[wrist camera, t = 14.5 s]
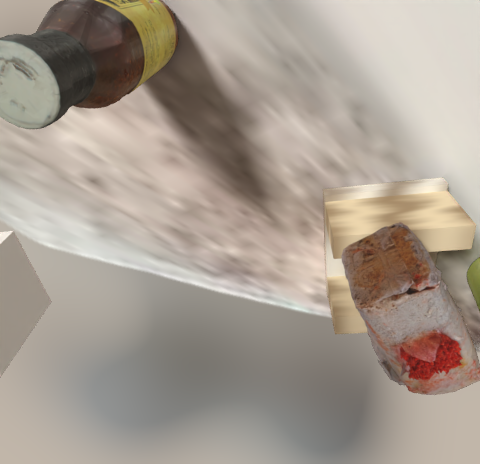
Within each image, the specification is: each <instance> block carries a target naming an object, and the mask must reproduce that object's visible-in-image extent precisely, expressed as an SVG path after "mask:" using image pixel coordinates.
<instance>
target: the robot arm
mask: <svg viewBox="0 0 480 464" xmlns="http://www.w3.org/2000/svg"><path fill="white" fill-rule="evenodd" d="M50 304H51V300H50V298H49V296H48V294H47V293H46V291H45V289H44V287H43V285H42V283H41V281H40V279H39V278H38V276H37V274H36V272H35V270H34V268H33V266H32V264H31V263H30V261H29V259H28V257H27V255H26V253H25V252H24V249H23V248H22V246H21V244H20V242H19V240H18V238H17V236H16V235H15V233H14V231H9V232H0V377H1V376H2V374H3V373H4V371H5V370H6V368H7V367H8V366H9V364H10V362H11V361H12V360H13V358H14V357H15V355H16V354H17V352H18V351H19V349H20V348H21V346H22V345H23V343H24V342H25V340H26V339H27V337H28V336H29V335H30V333H31V331H32V330H33V329H34V327H35V326H36V324H37V323H38V321H39V320H40V318H41V317H42V315H43V314H44V312H45V311H46V309H47V308H48V306H49V305H50Z"/></svg>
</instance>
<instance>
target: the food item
mask: <svg viewBox="0 0 480 464" xmlns="http://www.w3.org/2000/svg"><path fill="white" fill-rule="evenodd" d="M341 258H342V263H343V265H344V269H345V276H346V278H347V280H348V283H349V287H350V291H351V296H352V299H353V301H354V303H355V307H356V309H358V311H359V313H360V315H361V317H362V318H363V320H364V321H365V325H366V327H367V331H368V335H369V336H370V337H371V342H372V346H373V348H374V351H375V352H376V354H377V356H378V358H379V359H380V361H381V362H380V361H378V362H379V364H380V365H381V366H382V368H383V369H384V371H385V373H386V374H387V375H388V377H389V378H390V379H391V380H393V381H395V382H398V384H399V385H406V386H407V388H408V390H409V391H411V392H413V393H420V394H426V395H436V394H444V393H449V392H455V391H457V390H459V389H461V388H464V387H467V386H469V385H471V384H473V383H475V382H477V381H480V364H479V360H478V356H477V353H476V349H475V347H474V344H473V342H472V339H471V337H470V335H469V332H468V330H467V328H466V325H465V323H464V321H463V318H462V317H463V316H461V314H460V312H459V311H461V309H460V308H458V307H457V306H456V304H455V302H454V300H453V298H452V296H451V295H450V293H449V292H448V287H447V286H446V284H445V283H444V282H443V281H442V279H441V274H442V273H441V272H440V271H439V270H438V269H437V268H436V266H435V264H434V262H433V260H432V258H431V257H430V255H429V253H428V252H427V250H426V248H425V247H424V245H423V244H422V242H421V241H420V240H419V239H418V237H417V236H416V235H415V234H414V233H413V232H412V231H411V230H410V229H409V228H408V226H407V225H405V224H403V223H402V222H399V223H396V224H393V225H391V226H389V227H388V226H385V227H383V228H381V229H379V230H378V231H376V232H375V233H373V234H371V235H369V236H367V237H365V238H363V239H361V240H359V241H357V242H354V243H352V244H350V245H348V246H347V247H346V248H344V249H343V252H342V255H341Z"/></svg>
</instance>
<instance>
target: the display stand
mask: <svg viewBox="0 0 480 464" xmlns="http://www.w3.org/2000/svg"><path fill="white" fill-rule="evenodd" d="M447 189H448V183H447V182H446V181H445V180H444V178H433V179H422V180H412V181H402V182H391V183H381V184H371V185H360V186H350V187H340V188H329V189H323V207H324V239H325V271H326V292H327V297H328V299H329V304H330V310H331V315H332V320H333V326H334V331H335V334H348V333H368V331H367V327H366V325H365V321H364V320H363V318H362V317H361V315H360V313H359V311H358V309H356V307H355V303H354V301H353V299H352V296H351V291H350V287H349V283H348V280H347V278H346V276H345V269H344V265H343V263H342V258H341V255H342V252H343V249H344V248H346V247H347V246H348V245H350V244H352V243H354V242H357V241H359V240H361V239H363V238H365V237H367V236H369V235H371V234H373V233H375V232H376V231H378V230H379V229H381V228H383V227H385V226H388V227H389V226H391V225H393V224H396V223H399V222H402V223H403V224H405V225H407V226H408V228H409V229H410V230H411V231H412V232H413V233H414V234H415V235H416V236H417V237H418V239H419V240H420V241H421V242H422V244H423V245H424V247H425V248H426V250H427V252H428V253H429V255H430V257H431V258H432V260H433V262H434V264H435V266H436V259H437V253H438V251H450V250H463V249H471V248H472V243H473V238H474V234H475V229H476V224H475V223H474V222H473V221H472V219H471V218H470V217H469V216H468V215H467V213H466V212H465V211H464V210H463V209H462V208H461V206H460V205H459V204H458V203H457V202H456V200H455V199H454V198H453V197H452V196H451V195H450V193H449V192H448V191H447Z"/></svg>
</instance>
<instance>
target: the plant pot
mask: <svg viewBox="0 0 480 464" xmlns="http://www.w3.org/2000/svg"><path fill="white" fill-rule="evenodd" d="M467 280H468V284H469V286H470V289H471V291H472V293H473V296H474V298H475V301H476V303H477V306H478V308H479V311H480V257H479V258H478V259H477V260H475V261H474V262H473V263H472V265H471V266H470V268H469V269H468V272H467Z"/></svg>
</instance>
